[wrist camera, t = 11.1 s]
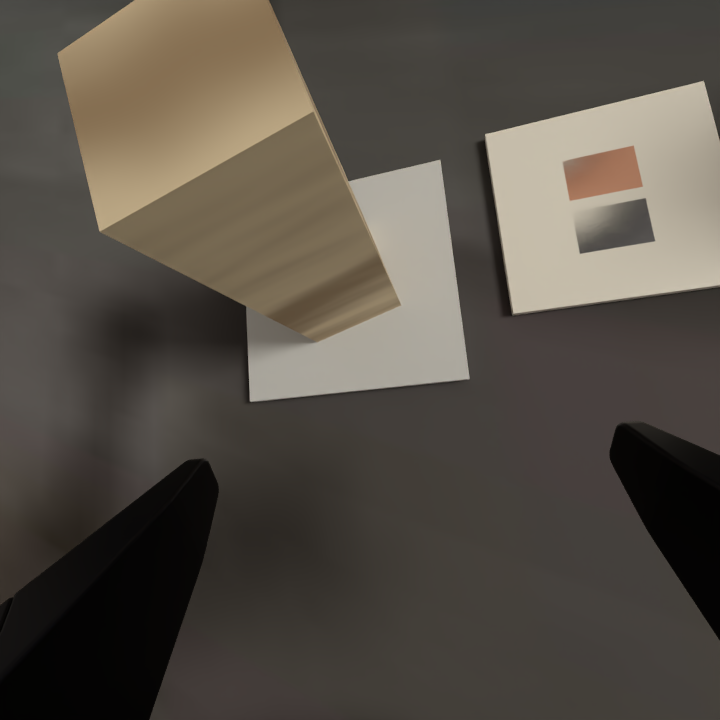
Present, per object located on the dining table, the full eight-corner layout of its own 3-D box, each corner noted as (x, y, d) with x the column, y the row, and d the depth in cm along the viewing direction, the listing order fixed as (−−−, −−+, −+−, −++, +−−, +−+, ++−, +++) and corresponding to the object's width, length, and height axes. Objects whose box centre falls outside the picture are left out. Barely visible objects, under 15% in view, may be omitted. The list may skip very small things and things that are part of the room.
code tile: (749, 282, 16) (756, 279, 16) (512, 315, 18) (513, 313, 18) (698, 88, 18) (703, 81, 17) (484, 139, 20) (485, 134, 20)
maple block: (401, 305, 19) (313, 111, 7) (317, 342, 20) (99, 231, 8) (367, 226, 20) (237, -71, 8) (289, 264, 21) (57, 53, 9)
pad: (468, 379, 18) (469, 378, 18) (255, 401, 21) (249, 401, 21) (440, 166, 20) (440, 159, 20) (247, 211, 23) (242, 206, 22)
